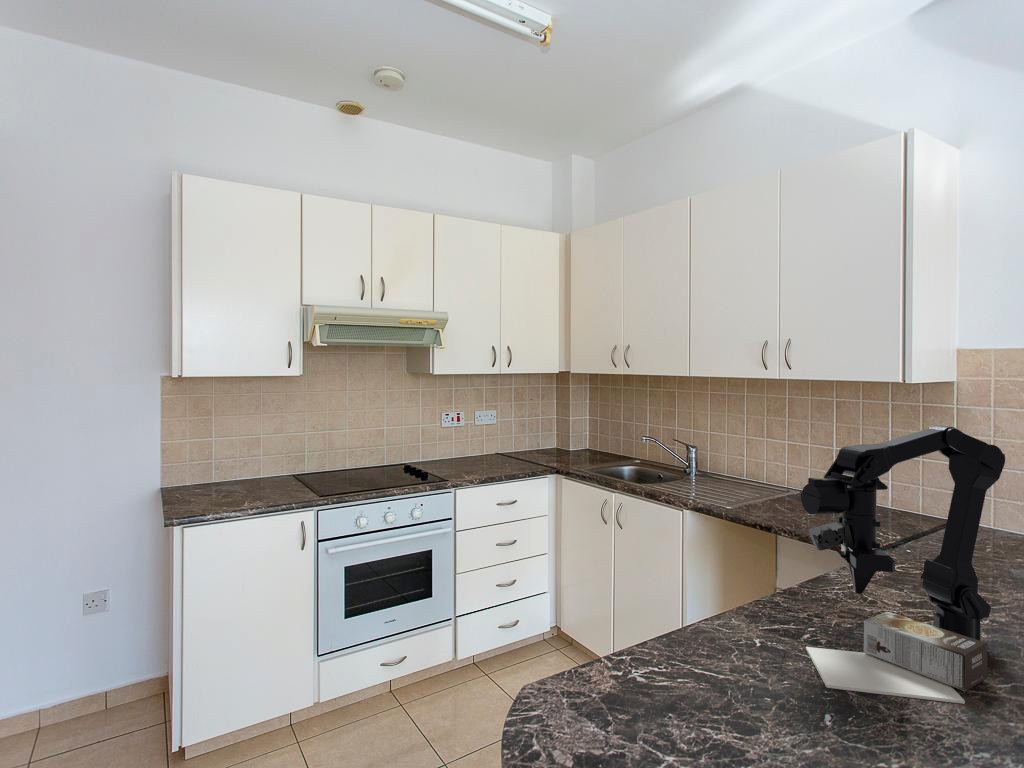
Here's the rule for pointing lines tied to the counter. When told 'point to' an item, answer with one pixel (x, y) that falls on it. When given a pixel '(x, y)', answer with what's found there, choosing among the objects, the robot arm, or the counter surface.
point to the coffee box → (927, 650)
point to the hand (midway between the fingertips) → (858, 593)
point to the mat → (876, 676)
